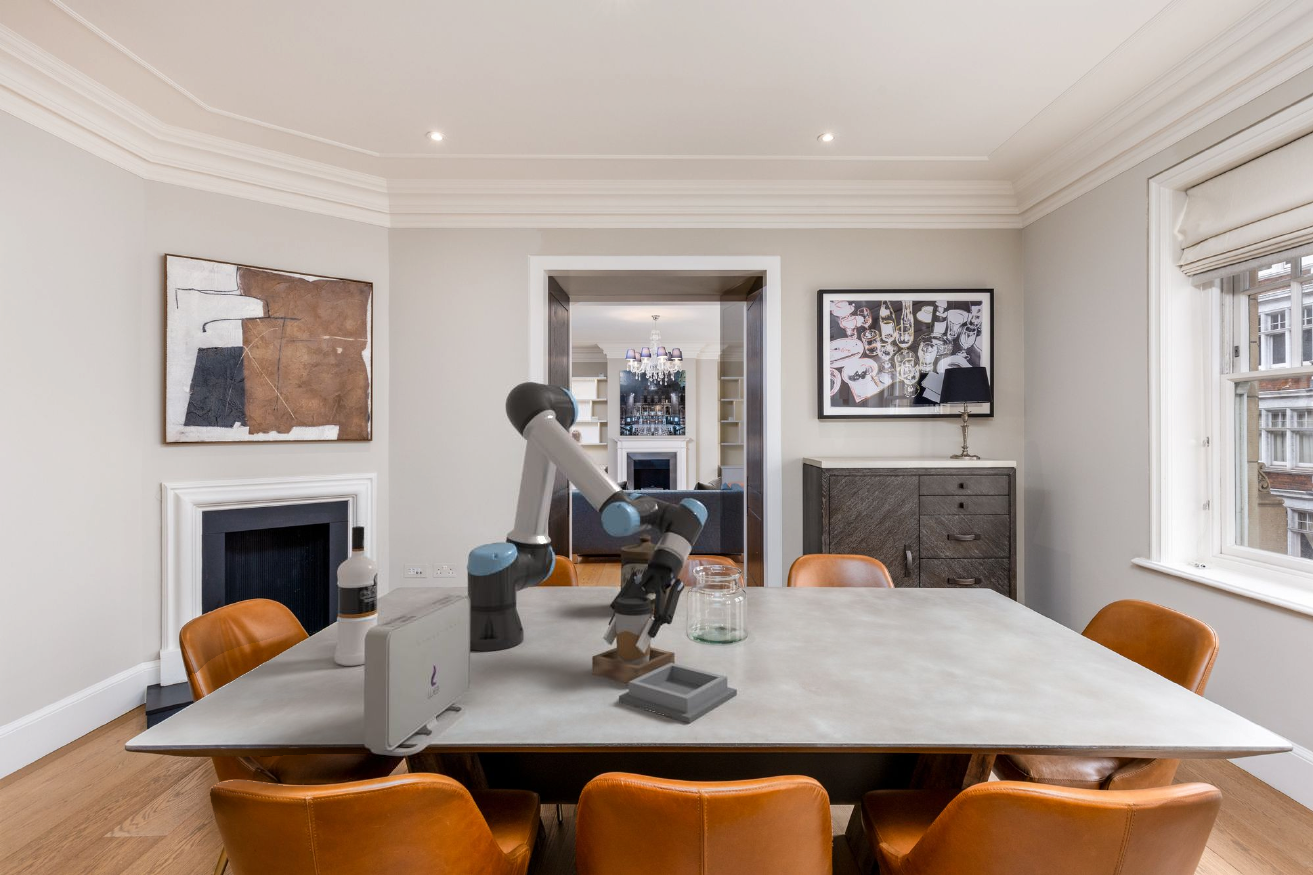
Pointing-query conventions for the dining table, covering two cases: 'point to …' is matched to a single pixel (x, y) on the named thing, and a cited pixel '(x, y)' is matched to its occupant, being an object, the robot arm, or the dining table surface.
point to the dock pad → (678, 692)
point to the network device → (416, 674)
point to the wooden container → (638, 562)
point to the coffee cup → (631, 627)
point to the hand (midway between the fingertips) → (623, 645)
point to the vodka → (355, 602)
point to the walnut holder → (629, 665)
